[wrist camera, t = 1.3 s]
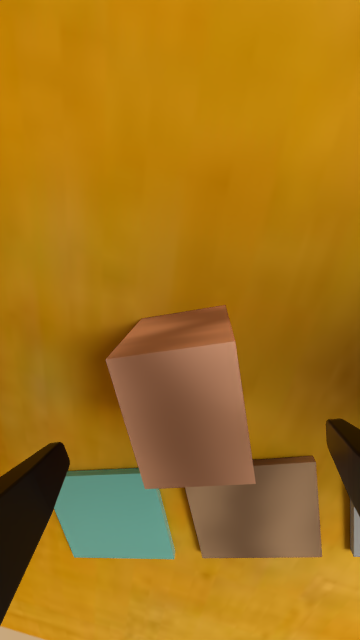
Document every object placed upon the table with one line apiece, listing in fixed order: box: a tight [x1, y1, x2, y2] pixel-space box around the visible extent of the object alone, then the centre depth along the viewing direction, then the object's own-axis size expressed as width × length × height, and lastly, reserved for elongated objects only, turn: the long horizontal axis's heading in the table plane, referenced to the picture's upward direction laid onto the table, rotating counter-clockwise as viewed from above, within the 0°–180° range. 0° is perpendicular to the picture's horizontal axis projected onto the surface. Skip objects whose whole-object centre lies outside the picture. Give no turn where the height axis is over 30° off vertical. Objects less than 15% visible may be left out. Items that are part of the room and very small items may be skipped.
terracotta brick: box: [106, 305, 256, 489], centre depth 12 cm, size 4×6×5 cm
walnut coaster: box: [185, 456, 322, 558], centre depth 16 cm, size 8×8×1 cm
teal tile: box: [54, 468, 175, 559], centre depth 18 cm, size 8×8×1 cm
